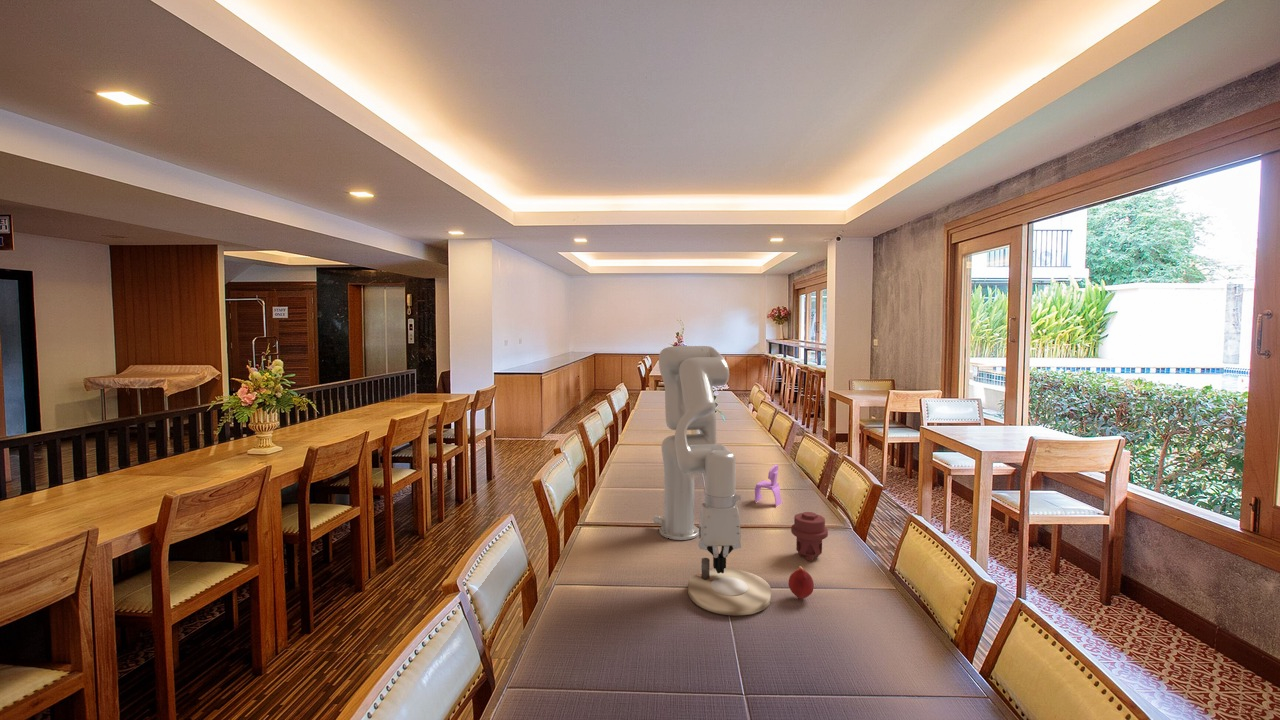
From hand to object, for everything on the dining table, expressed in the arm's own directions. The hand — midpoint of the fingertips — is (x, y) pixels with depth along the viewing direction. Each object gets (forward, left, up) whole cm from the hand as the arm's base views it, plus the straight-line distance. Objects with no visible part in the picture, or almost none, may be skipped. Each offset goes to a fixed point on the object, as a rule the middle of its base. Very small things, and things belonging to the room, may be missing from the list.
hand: (719, 570), depth 135 cm
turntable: (+4, -4, -4) cm, 7 cm away
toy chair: (-3, +70, -4) cm, 70 cm away
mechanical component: (+18, +28, -4) cm, 33 cm away
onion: (+20, +2, -4) cm, 20 cm away
